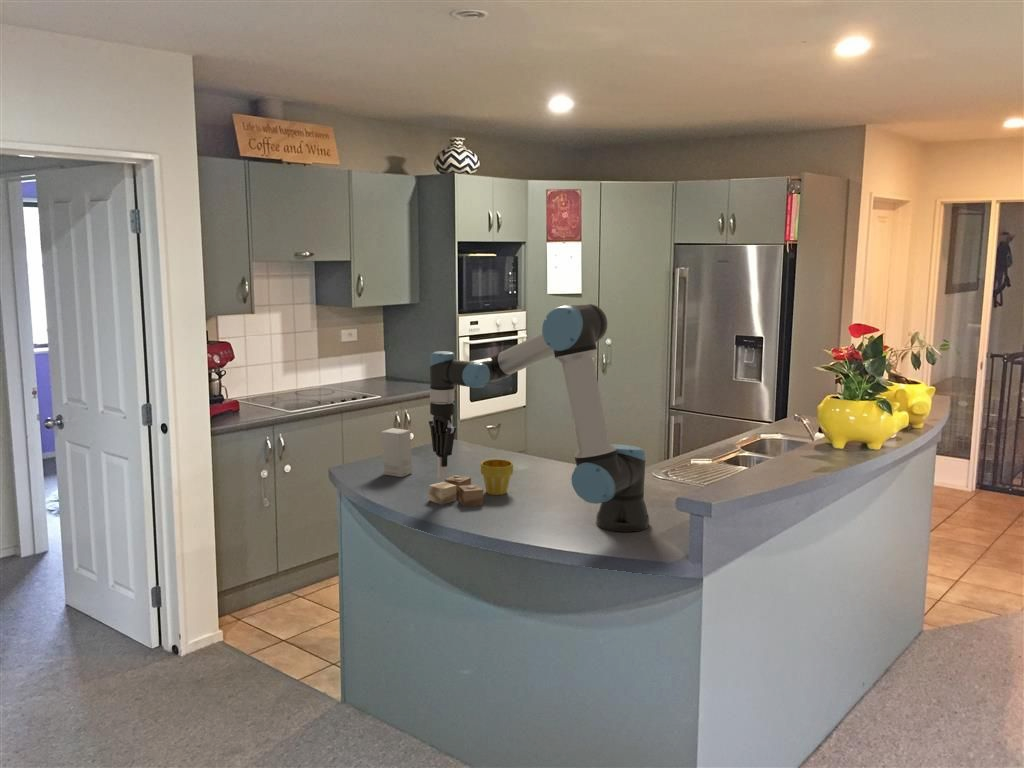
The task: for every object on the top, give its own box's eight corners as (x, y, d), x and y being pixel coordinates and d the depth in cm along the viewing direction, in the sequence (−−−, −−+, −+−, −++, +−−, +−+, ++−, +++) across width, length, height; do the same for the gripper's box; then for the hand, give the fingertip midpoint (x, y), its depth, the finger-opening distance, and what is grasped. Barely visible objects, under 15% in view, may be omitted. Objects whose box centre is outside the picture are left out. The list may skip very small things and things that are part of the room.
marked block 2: (483, 505, 265) (483, 488, 264) (464, 507, 263) (464, 490, 262) (477, 499, 271) (477, 483, 270) (458, 501, 269) (458, 485, 268)
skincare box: (412, 473, 299) (412, 430, 297) (400, 478, 294) (399, 433, 291) (393, 470, 304) (393, 427, 301) (381, 474, 298) (380, 430, 295)
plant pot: (509, 498, 272) (509, 468, 271) (477, 495, 274) (477, 466, 273) (515, 488, 282) (515, 460, 281) (485, 486, 284) (485, 458, 283)
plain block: (456, 500, 269) (456, 485, 268) (441, 504, 265) (441, 489, 264) (443, 496, 273) (443, 481, 273) (429, 500, 269) (429, 485, 268)
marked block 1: (470, 492, 278) (470, 477, 277) (460, 497, 273) (460, 481, 272) (455, 489, 281) (455, 474, 280) (444, 494, 276) (444, 478, 275)
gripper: (463, 404, 261) (463, 479, 265) (442, 397, 271) (442, 469, 275) (442, 406, 257) (442, 482, 261) (421, 399, 267) (421, 472, 271)
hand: (442, 475), depth 268 cm, fingers closed
